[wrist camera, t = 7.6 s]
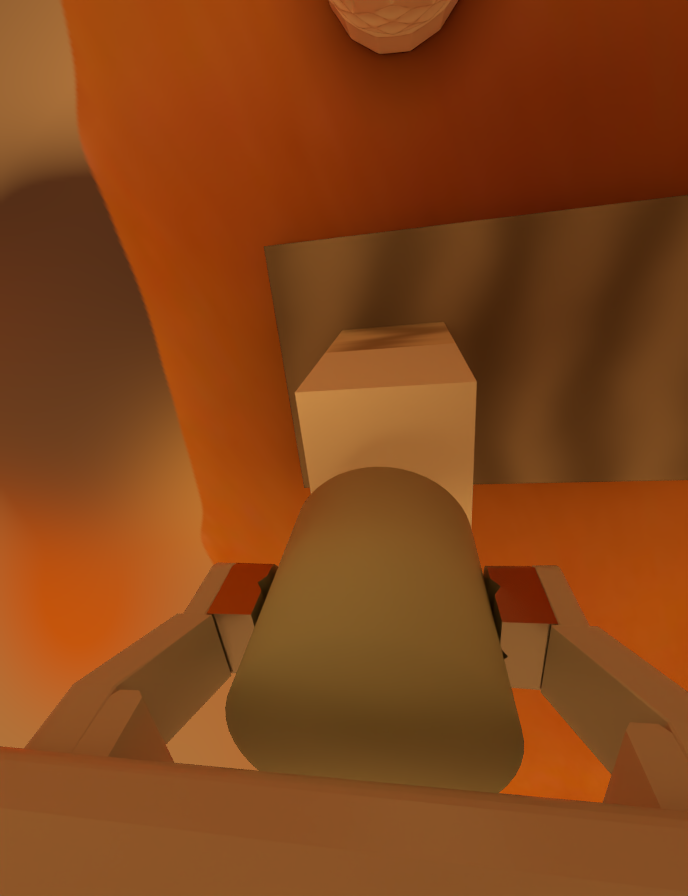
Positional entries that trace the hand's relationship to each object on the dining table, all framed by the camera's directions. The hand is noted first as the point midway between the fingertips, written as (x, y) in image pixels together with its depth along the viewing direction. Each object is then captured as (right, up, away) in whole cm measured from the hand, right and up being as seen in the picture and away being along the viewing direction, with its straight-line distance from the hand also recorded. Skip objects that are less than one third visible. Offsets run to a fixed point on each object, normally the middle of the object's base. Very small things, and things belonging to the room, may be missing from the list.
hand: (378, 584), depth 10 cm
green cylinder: (0, +1, +1) cm, 2 cm away
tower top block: (+2, +5, +10) cm, 12 cm away
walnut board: (+8, +9, +16) cm, 20 cm away
